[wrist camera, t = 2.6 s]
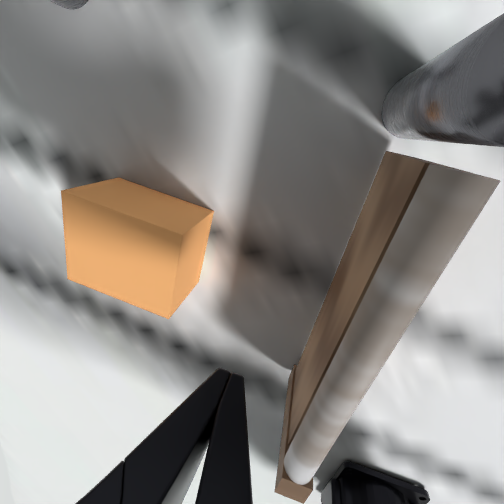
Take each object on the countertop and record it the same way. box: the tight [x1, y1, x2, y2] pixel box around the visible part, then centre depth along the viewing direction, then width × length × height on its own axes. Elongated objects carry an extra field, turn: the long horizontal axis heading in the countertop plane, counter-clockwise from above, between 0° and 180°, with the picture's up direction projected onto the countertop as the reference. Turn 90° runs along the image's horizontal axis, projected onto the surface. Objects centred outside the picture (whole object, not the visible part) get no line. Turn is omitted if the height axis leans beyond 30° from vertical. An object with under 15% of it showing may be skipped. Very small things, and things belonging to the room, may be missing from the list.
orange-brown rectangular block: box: [61, 178, 214, 319], centre depth 14 cm, size 6×5×4 cm
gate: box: [275, 151, 500, 504], centre depth 12 cm, size 15×1×6 cm, turn 168°
